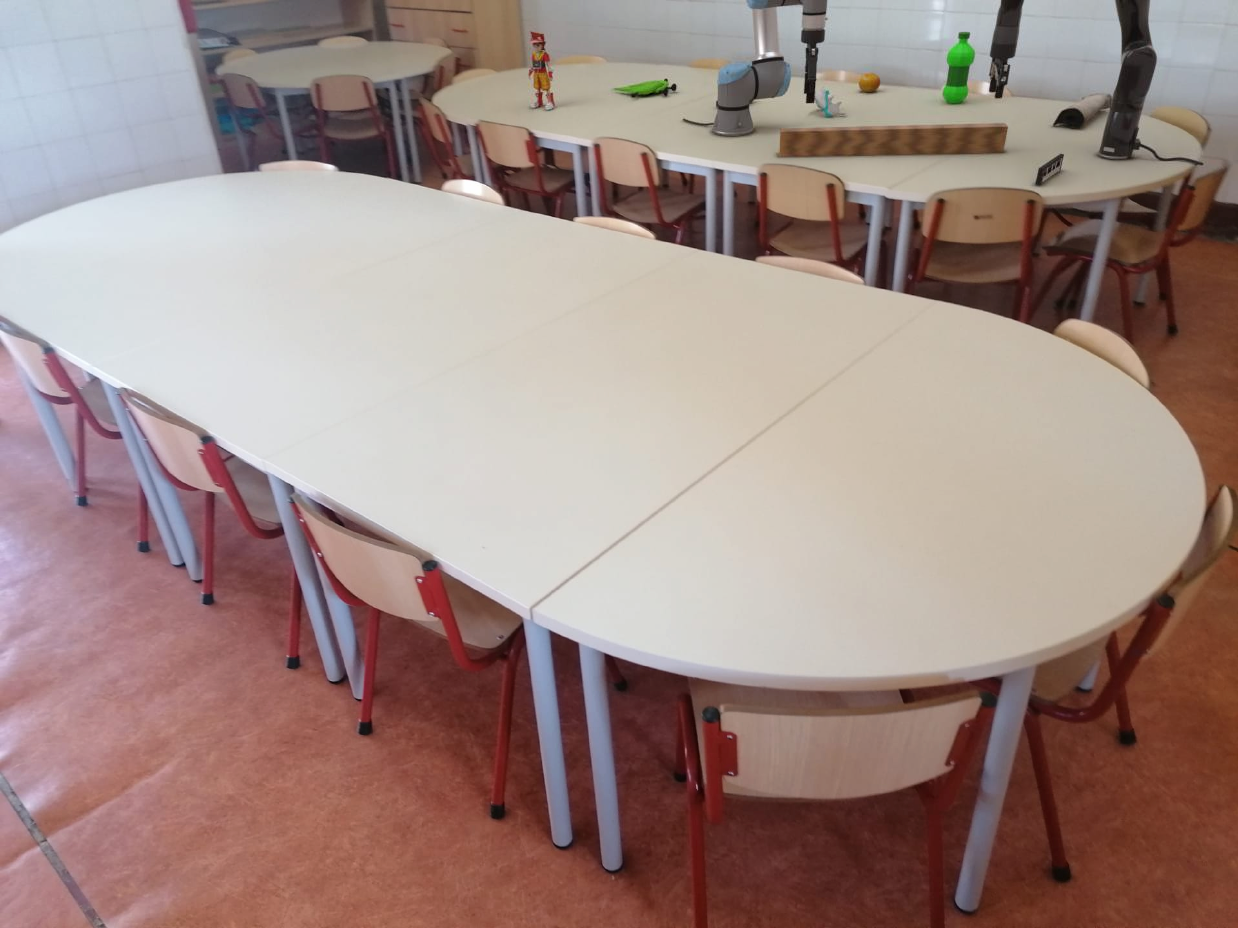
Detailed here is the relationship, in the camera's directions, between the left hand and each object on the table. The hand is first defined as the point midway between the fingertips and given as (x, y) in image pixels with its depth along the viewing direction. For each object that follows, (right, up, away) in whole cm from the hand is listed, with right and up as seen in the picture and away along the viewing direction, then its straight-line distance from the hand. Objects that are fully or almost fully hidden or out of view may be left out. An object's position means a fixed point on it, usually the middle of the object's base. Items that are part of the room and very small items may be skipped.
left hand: (808, 98), depth 300 cm
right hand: (+58, -3, -10) cm, 59 cm away
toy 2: (-54, +42, +97) cm, 119 cm away
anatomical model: (+18, +15, +51) cm, 56 cm away
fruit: (+41, +34, +76) cm, 93 cm away
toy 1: (-96, +30, +83) cm, 130 cm away
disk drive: (-16, +26, +69) cm, 76 cm away
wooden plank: (+28, -17, +4) cm, 33 cm away
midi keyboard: (+68, -35, -25) cm, 81 cm away
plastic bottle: (+69, +21, +55) cm, 91 cm away
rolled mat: (+105, +3, +26) cm, 109 cm away
